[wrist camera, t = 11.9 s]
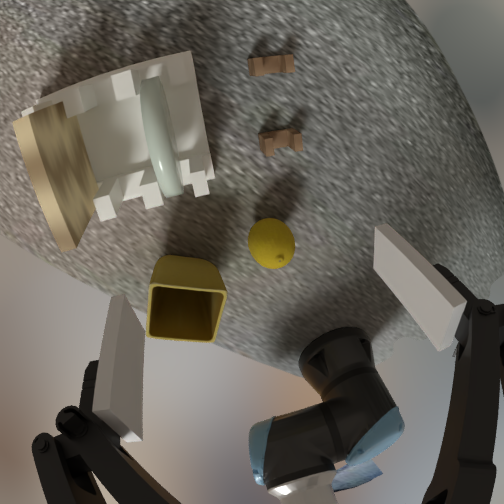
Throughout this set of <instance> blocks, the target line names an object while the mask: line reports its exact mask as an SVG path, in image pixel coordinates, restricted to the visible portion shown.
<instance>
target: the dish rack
mask: <svg viewBox="0 0 504 504" xmlns="http://www.w3.org/2000/svg"><path fill="white" fill-rule="evenodd" d="M156 76H159V77H160V79H161V82H162V85H163V88H164V91H165V95H166V99H167V103H168V107H169V111H170V115H171V120H172V124H173V129H174V134H175V139H176V144H177V149H178V154H179V160H180V166H181V172H182V178H183V185H188V184H192V185H193V189H194V193H195V197H198V196H203V195H207V194H209V189H208V185H207V180H209V179H214V178H215V176H214V170H213V165H212V159H211V154H210V151H209V146H208V140H207V135H206V130H205V125H204V119H203V114H202V109H201V103H200V98H199V93H198V87H197V82H196V75H195V69H194V63H193V58H192V54H191V51H186V52H181V53H176V54H172V55H168V56H163V57H159V58H155V59H151V60H147V61H144V62H140V63H136V64H133V65H129V66H126V67H123V68H120V69H116V70H113V71H110V72H107V73H104V74H101V75H98V76H95V77H92V78H90V79H87V80H84V81H81V82H79V83H76V84H74V85H71V86H68V87H66V88H64V89H61V90H59V91H56V92H54V93H52V94H49V95H47V96H45V97H42V98H40V99H38V100H36V103H37V105H35V106H32V107H30V108H28V109H26V110H24V111H22V112H21V113H22V117H24V116H26V115H28V114H31V113H33V112H36V111H38V110H41V109H43V108H46V107H48V106H51V105H54V104H57V103H59V102H62V101H63V104H64V108H65V112H66V116H67V118H70V117H73V116H75V115H77V119H78V123H79V126H80V130H81V133H82V137H83V140H84V144H85V147H86V151H87V154H88V157H89V161H90V164H91V167H92V170H93V173H94V176H95V179H96V182H97V185H98V188H99V190H98V191H97V193H96V195H95V196H94V198H93V202H94V205H95V207H96V210H97V213H98V215H99V218H100V221H104V220H108V219H111V218H115V217H117V215H118V212H119V209H120V207H121V204H122V201H125V200H129V199H132V198H136V197H140V196H142V197H143V200H144V203H145V207H146V209H149V208H153V207H157V206H161V205H164V197H165V195H164V194H163V192H162V190H161V188H160V185H159V183H158V180H157V177H156V174H155V171H154V168H153V165H152V161H151V158H150V154H149V150H148V146H147V141H146V137H145V132H144V126H143V120H142V113H141V104H140V83H141V81H142V80H144V79H148V78H152V77H156Z"/></svg>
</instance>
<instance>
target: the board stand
mask: <svg viewBox="0 0 504 504" xmlns="http://www.w3.org/2000/svg"><path fill="white" fill-rule="evenodd" d="M247 60H248V67H249V73H250V76H263V75H264V74H268V73H277V72H283V73H290V72H295V68H294V60H293V54H291V55H279V56H268V57H259V58H251V59H247ZM258 136H259V144H260V150H261V151H262V152H263V153H264V154H265V155H266V156H273V155H275V154H274V148H280V147H286V146H289V147H290V148H291V149H293V150H294V151H295V152H296V151H303V145H302V134H301V133H300V132H298V131H297V130H295V129H293V128H290V129H283V130H276V131H270V132H264V133H258Z"/></svg>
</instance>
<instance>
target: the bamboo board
mask: <svg viewBox="0 0 504 504" xmlns="http://www.w3.org/2000/svg"><path fill="white" fill-rule="evenodd" d="M12 123H13V126H14V130H15V133H16V137H17V140H18V143H19V147H20V150H21V153H22V156H23V159H24V162H25V165H26V168H27V171H28V174H29V176H30V179H31V182H32V185H33V187H34V190H35V192H36V195H37V198H38V200H39V203H40V205H41V208H42V210H43V212H44V215H45V217H46V220H47V222H48V224H49V226H50V229H51V231H52V233H53V235H54V238H55V240H56V242H57V244H58V246H59V248H60V250H61V252H65V251H68V250H72V249H75V248H77V246H78V244H79V241H80V239H81V237H82V235H83V233H84V231H85V229H86V227H87V225H88V223H89V221H90V219H91V217H92V215H93V213H94V211H95V209H96V207H95V205H94V202H93V198H94V196H95V195H96V193H97V191H98V190H99V188H98V185H97V182H96V179H95V176H94V173H93V170H92V167H91V164H90V161H89V157H88V154H87V151H86V147H85V144H84V140H83V137H82V133H81V130H80V126H79V123H78V119H77V115H75V116H73V117H70V118H67V116H66V112H65V108H64V104H63V101H62V102H59V103H57V104H54V105H51V106H48V107H46V108H43V109H41V110H38V111H36V112H33V113H31V114H28V115H26V116H24V117H22V118H20V119H18V120H16V121H14V122H12Z"/></svg>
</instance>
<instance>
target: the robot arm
mask: <svg viewBox="0 0 504 504" xmlns="http://www.w3.org/2000/svg"><path fill="white" fill-rule="evenodd" d="M373 269H374V270H375V271H376V272H377V274H378V275H379V276H380V277H381V278H382V280H383V281H384V282H385V283H386V285H387V286H388V287H389V288H390V289H391V291H392V292H393V293H394V294H395V296H396V297H397V298H398V299H399V301H400V302H401V303H402V304H403V306H404V307H405V308H406V310H407V311H408V312H409V313H410V315H411V316H412V317H413V319H414V320H415V321H416V322H417V324H418V325H419V326H420V328H421V329H422V330H423V332H424V333H425V334H426V336H427V337H428V338H429V339H430V341H431V342H432V344H433V345H434V346H435V348H436V349H437V350H438V352H439V351H441V350H443V349H445V348H447V347H449V346H451V344H452V342H453V339H454V337H455V338H456V339H457V340H458V341H459V342H458V344H457V347H456V349H455V351H454V354H453V357H455V355H456V362H455V372H454V379H453V387H452V393H451V400H450V406H449V412H448V417H447V422H446V427H445V432H444V437H443V441H442V446H441V450H440V454H439V458H438V461H437V465H436V469H435V473H434V476H433V479H432V481H431V484H430V485H429V487H428V489H427V491H426V493H425V495H424V498H423V501H422V504H490V501H491V496H492V492H493V488H494V483H495V478H496V466H495V465H494V464H493V461H492V459H493V452H494V445H495V438H496V429H497V420H498V408H499V392H500V379H501V384H502V389H503V395H504V304H500V305H494V304H493V303H492V302H490V301H489V300H485V299H479V300H478V299H477V298H476V297H475V296H474V295H473V293H472V292H471V291H470V290H469V289H468V288H467V287H466V286H465V285H464V284H463V283H462V282H461V281H459V279H458V278H457V277H456V276H454V274H453V273H452V272H451V271H450V270H448V269H447V268H446V267H444V266H442V265H440V264H435V265H433V266H432V265H431V264H430V263H429V262H428V261H427V260H426V259H425V258H424V257H423V256H422V255H421V254H420V253H419V252H418V251H417V250H416V249H415V248H414V247H412V246H411V245H410V244H409V243H408V242H407V241H406V240H405V239H404V238H403V237H402V236H401V235H399V234H398V233H397V232H396V231H395V230H394V229H393V228H392V227H391V226H389V225H388V224H387V223H386V224H383V225H379V226H375V242H374V265H373ZM144 342H145V330H144V328H143V327H142V325H141V323H140V322H139V320H138V318H137V316H136V314H135V312H134V311H133V309H132V307H131V305H130V303H129V301H128V299H127V298H126V296H125V294H122V295H118V296H114V297H111V301H110V305H109V310H108V315H107V320H106V324H105V330H104V335H103V340H102V346H101V352H100V357H99V360H96V361H91V362H90V363H89V365H88V367H87V368H86V370H85V374H84V380H83V381H84V382H83V385H82V389H83V390H82V392H81V398H80V405H79V408H78V407H76V406H72V405H71V406H67V407H65V408H63V409H62V410H61V411H60V412H59V413H58V415H57V418H56V427H57V430H58V431H60V432H61V433H62V434H60V435H58V436H55V437H52V436H51V435H50V434H48V433H41V434H39V435H38V436H36V437H35V439H34V441H33V443H32V453H33V457H34V461H35V465H36V468H37V472H38V475H39V478H40V482H41V485H42V488H43V491H44V494H45V497H46V500H47V503H48V504H106V501H105V499H104V498H103V495H102V493H101V491H100V489H99V487H98V485H97V483H96V480H95V478H94V476H93V474H92V471H93V473H94V474H95V475H96V477H97V478H98V479H99V480H100V482H101V483H102V484H103V485H104V486H105V488H106V489H107V490H108V491H109V493H110V494H111V495H112V496H113V497H114V499H115V500H116V501H117V502H118V503H119V504H181V503H180V502H179V501H178V500H177V499H176V498H174V497H173V496H172V495H171V494H170V493H168V491H167V490H165V489H164V488H163V487H162V486H161V485H160V484H159V483H158V482H157V481H156V480H155V479H154V478H153V477H152V476H150V474H149V473H148V472H147V471H145V469H143V468H142V467H141V466H140V465H139V463H138V462H137V461H136V460H135V459H134V458H133V457H132V456H131V455H130V454H129V453H128V452H127V451H126V450H125V449H124V448H123V447H122V446H121V445H120V437H121V438H122V439H124V440H125V441H126V442H135V441H143V434H142V433H143V432H142V430H143V429H142V400H143V398H142V397H143V363H144ZM299 368H300V370H301V373H302V375H303V377H304V378H305V380H306V381H307V382H308V383H309V384H310V385H311V386H312V387H313V388H314V389H315V390H316V392H317V393H318V394H319V395H320V396H321V399H322V401H323V402H322V403H320V404H316V405H313V406H310V407H307V408H304V409H301V410H298V411H294V412H291V413H288V414H284V415H280V416H277V417H276V416H273V417H272V418H270V419H267V420H264V421H261V422H258V423H256V424H254V425H253V426H252V427H251V429H250V432H249V455H250V462H251V467H252V469H253V476H254V479H255V481H256V483H257V484H259V485H265V484H266V487H267V490H268V493H270V494H271V495H274V496H276V497H277V498H279V499H280V501H281V504H338V503H337V500H336V497H335V494H334V491H333V488H332V486H331V483H332V480H333V478H334V477H335V475H336V473H337V472H336V469H335V467H334V464H335V463H337V462H340V461H343V460H345V461H346V463H347V464H348V465H350V466H355V465H357V464H361V463H364V462H366V461H368V460H370V459H372V458H373V457H375V456H377V455H378V454H380V453H381V452H383V451H384V450H386V449H387V448H388V447H390V446H391V445H392V444H393V443H394V442H395V441H396V440H397V439H398V438H399V437H400V436H401V435H402V433H403V431H404V427H405V425H404V421H403V419H402V417H401V414H400V412H399V408H398V407H397V406H396V404H395V402H394V400H393V398H392V397H391V395H390V393H389V391H388V389H387V388H386V386H385V384H384V382H383V381H382V379H381V377H380V375H379V374H378V372H377V370H376V368H375V363H374V356H373V350H372V345H371V342H370V340H369V338H368V336H367V335H366V333H365V332H364V331H363V330H361V329H359V328H355V327H346V328H340V329H336V330H333V331H331V332H328V333H326V334H324V335H322V336H321V337H319V338H317V339H316V340H315V341H313V342H312V343H311V344H310V345H309V346H308V347H307V348H306V349H305V350H304V351H303V353H302V355H301V357H300V359H299Z"/></svg>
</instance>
